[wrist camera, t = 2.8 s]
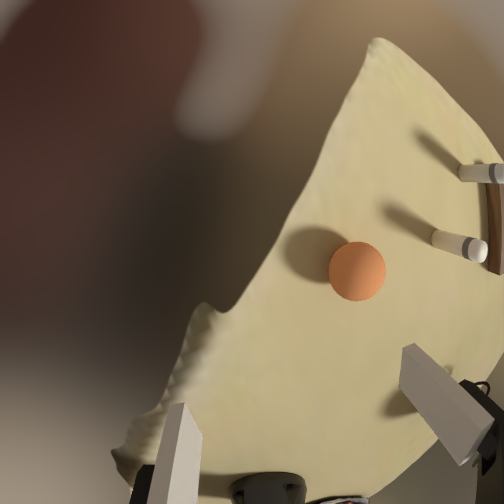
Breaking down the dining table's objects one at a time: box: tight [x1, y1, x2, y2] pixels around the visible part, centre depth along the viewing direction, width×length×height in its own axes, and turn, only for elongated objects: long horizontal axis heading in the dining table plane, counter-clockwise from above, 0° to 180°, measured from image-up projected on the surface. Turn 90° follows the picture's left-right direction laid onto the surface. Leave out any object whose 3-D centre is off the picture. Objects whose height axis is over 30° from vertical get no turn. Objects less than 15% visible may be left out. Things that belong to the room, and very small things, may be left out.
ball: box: [328, 242, 386, 301], centre depth 26 cm, size 6×6×6 cm
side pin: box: [458, 163, 504, 184], centre depth 24 cm, size 2×2×8 cm
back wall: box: [486, 183, 504, 275], centre depth 28 cm, size 2×16×3 cm, turn 13°
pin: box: [431, 230, 488, 263], centre depth 25 cm, size 2×2×8 cm
